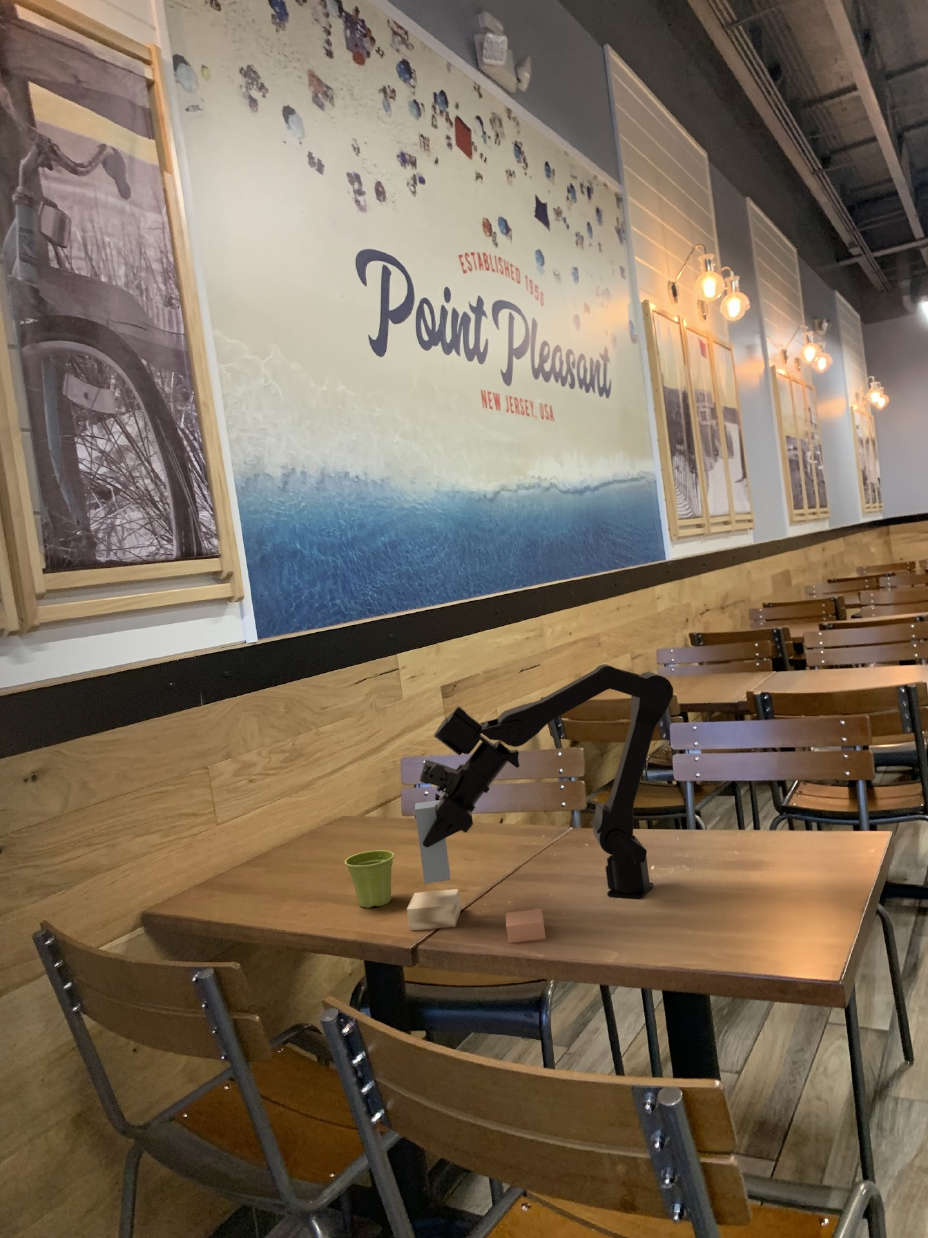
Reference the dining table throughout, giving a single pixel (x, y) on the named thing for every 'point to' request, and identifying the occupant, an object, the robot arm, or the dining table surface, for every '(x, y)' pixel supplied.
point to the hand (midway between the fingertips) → (424, 842)
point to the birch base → (434, 909)
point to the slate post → (436, 854)
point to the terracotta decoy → (525, 925)
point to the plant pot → (371, 876)
